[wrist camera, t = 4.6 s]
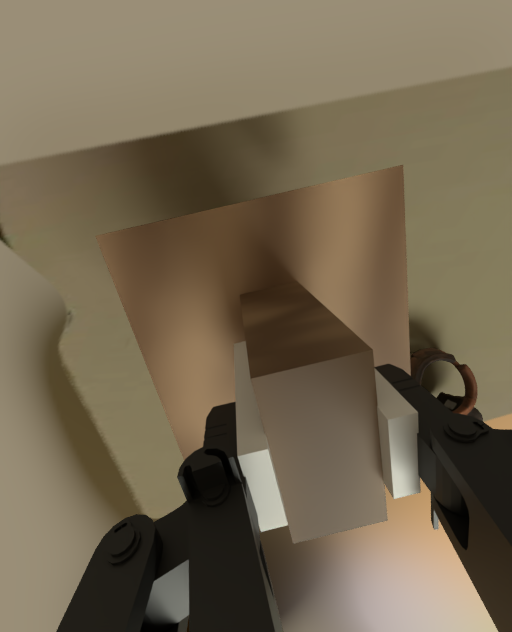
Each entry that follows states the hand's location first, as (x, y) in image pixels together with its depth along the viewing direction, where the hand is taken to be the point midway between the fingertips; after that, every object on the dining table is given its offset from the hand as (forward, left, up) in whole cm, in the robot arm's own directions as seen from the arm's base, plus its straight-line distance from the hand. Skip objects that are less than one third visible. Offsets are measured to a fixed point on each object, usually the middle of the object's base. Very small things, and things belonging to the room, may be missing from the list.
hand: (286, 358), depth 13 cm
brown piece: (0, 0, -14) cm, 14 cm away
